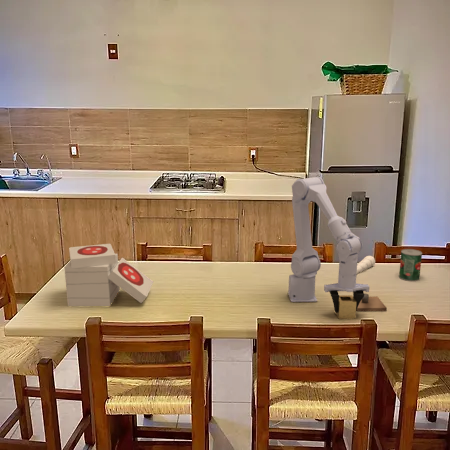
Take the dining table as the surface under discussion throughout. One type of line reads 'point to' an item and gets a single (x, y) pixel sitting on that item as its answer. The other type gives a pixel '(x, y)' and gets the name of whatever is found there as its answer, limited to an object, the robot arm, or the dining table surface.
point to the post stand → (371, 304)
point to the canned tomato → (410, 265)
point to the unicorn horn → (365, 264)
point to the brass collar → (346, 307)
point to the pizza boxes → (101, 277)
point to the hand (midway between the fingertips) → (345, 311)
